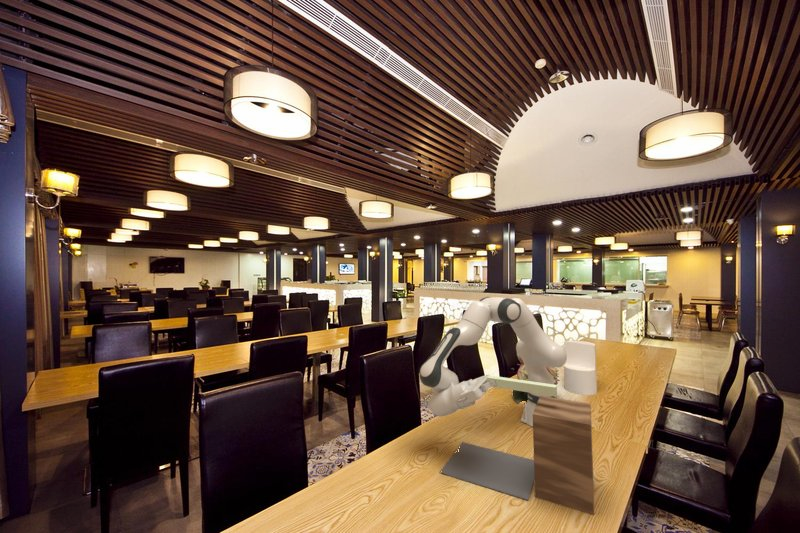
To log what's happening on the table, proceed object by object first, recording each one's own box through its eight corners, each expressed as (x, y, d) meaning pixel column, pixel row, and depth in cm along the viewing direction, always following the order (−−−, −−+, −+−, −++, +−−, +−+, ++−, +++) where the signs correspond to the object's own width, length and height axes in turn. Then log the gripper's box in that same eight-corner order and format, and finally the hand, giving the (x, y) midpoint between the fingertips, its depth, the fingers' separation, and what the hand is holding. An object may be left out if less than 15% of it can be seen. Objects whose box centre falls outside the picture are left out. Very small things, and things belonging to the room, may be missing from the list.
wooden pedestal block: (542, 467, 118) (540, 395, 119) (593, 481, 110) (590, 403, 111) (535, 497, 103) (532, 414, 104) (593, 515, 95) (590, 424, 96)
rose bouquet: (518, 407, 172) (516, 350, 173) (507, 388, 201) (505, 340, 202) (569, 409, 169) (567, 351, 170) (550, 389, 198) (549, 340, 199)
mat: (462, 442, 137) (462, 441, 137) (539, 462, 122) (539, 461, 122) (439, 473, 116) (439, 471, 116) (528, 501, 101) (528, 499, 101)
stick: (488, 383, 121) (488, 375, 121) (556, 393, 110) (556, 384, 110) (486, 385, 119) (486, 377, 119) (556, 396, 107) (555, 387, 107)
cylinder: (571, 383, 209) (570, 339, 210) (601, 390, 196) (599, 343, 197) (559, 389, 198) (557, 343, 199) (590, 397, 185) (588, 347, 186)
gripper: (451, 394, 116) (484, 380, 110) (469, 379, 134) (498, 365, 128) (459, 412, 114) (493, 398, 109) (477, 393, 132) (507, 380, 126)
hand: (496, 380), depth 118 cm, fingers closed on stick, 3 cm apart
